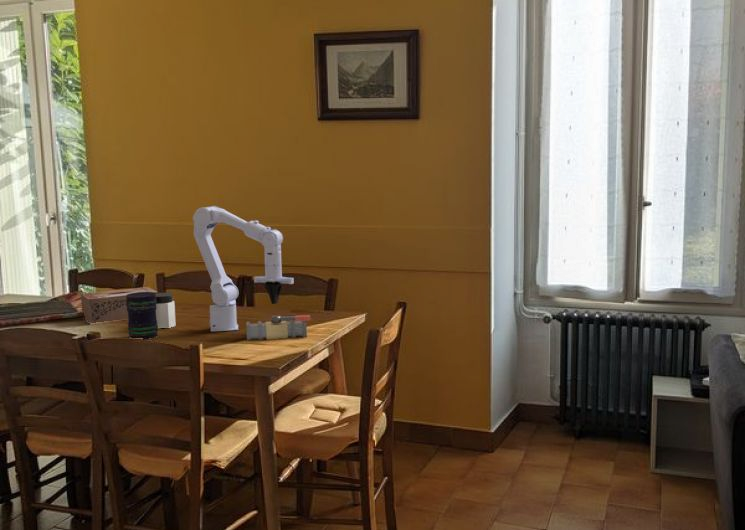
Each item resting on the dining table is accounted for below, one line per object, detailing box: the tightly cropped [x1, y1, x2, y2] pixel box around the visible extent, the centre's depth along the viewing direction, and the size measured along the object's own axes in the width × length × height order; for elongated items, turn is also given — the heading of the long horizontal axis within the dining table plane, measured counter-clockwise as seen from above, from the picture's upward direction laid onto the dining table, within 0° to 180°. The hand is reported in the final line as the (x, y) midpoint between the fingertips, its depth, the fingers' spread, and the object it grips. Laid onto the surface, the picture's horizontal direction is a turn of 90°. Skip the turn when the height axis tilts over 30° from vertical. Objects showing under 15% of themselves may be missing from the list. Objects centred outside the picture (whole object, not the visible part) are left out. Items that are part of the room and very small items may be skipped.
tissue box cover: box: [80, 286, 159, 323], centre depth 287 cm, size 26×14×10 cm, turn 122°
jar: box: [155, 292, 176, 329], centre depth 268 cm, size 9×8×12 cm
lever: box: [270, 314, 311, 323], centre depth 250 cm, size 13×4×2 cm, turn 94°
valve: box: [245, 320, 308, 341], centre depth 250 cm, size 20×6×5 cm, turn 100°
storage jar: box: [126, 292, 159, 339], centre depth 253 cm, size 10×10×15 cm
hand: (274, 303), depth 258 cm, fingers closed
